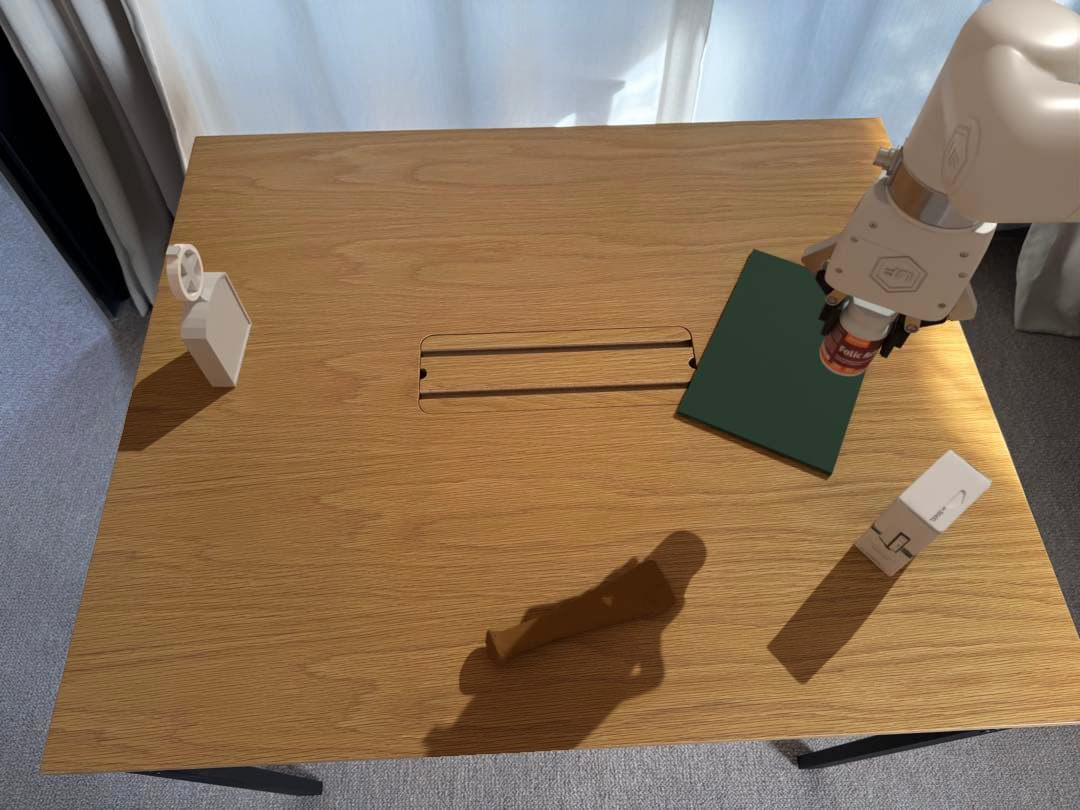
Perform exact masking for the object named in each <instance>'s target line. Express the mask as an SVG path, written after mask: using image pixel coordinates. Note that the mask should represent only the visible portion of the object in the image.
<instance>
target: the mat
mask: <svg viewBox="0 0 1080 810" xmlns="http://www.w3.org/2000/svg"><path fill="white" fill-rule="evenodd" d="M815 277H816V276H815V275H814V274H812V273H811V272H810V271H809V270H808V269H807V267H806V266H805V265H804V264H799V263H796V262H793V261H791V260H788V259H786V258H782V257H780V256H776V255H773V254H770V253H768V252H764V251H762V250H759V249H756V248H753V249H752V251H751V254H750V255H749V257H748V260H747V262H746V264H745V266H744V268H743V271H742V273H741V274H740V277H739V279H738V281H737V283H736V285H735V288H734V289H733V292H732V293H731V296H730V298H729V301H728V302H727V304H726V306H725V308H724V311H723V312H722V315H721V317H720V319H719V322H718V323H717V326H716V328H715V330H714V332H713V334H712V336H711V338H710V341H709V343H708V345H707V347H706V349H705V351H704V354H703V355H702V358H701V360H700V361H699V364H698V366H697V369H696V370H695V372H694V375H693V377H692V379H691V381H690V383H689V385H688V387H687V390H686V392H685V394H684V396H683V398H682V401H681V402H680V405H679V406H678V409H677V411H676V414H678V415H679V416H682V417H684V418H687V419H690V420H691V421H694V422H698V423H699V424H702V425H705V426H707V427H709V428H712V429H714V430H716V431H719V432H722V433H724V434H726V435H730V436H732V437H734V438H737V439H739V440H742V441H744V442H746V443H749V444H752V445H754V446H756V447H759V448H761V449H764V450H767V451H768V452H771V453H773V454H776V455H779V456H780V457H783V458H786V459H788V460H791V461H793V462H795V463H798V464H800V465H804V466H806V467H808V468H810V469H813V470H815V471H818V472H821V473H823V474H825V475H827V476H832V474H833V473H834V470H835V467H836V464H837V461H838V458H839V455H840V451H841V448H842V446H843V442H844V439H845V436H846V433H847V429H848V427H849V424H850V421H851V417H852V414H853V412H854V409H855V406H856V402H857V399H858V396H859V394H860V390H861V388H862V385H863V381H864V379H865V375H866V373H867V369H866V370H865V371H864V372H863V373H861V374H859V375H856V376H842V375H838V374H836V373H834V372H832V371H830V370H829V369H828V368H827V367H826V366H825V365H824V364H823V362H822V361H821V358H820V347H821V344H822V343H823V340H824V339H825V337H826V336H823V335H820V333H821V330H822V328H823V325H824V321H821V320H819V319H818V318H819V315H820V313H821V310H822V308H823V306H824V304H825V298H826V295H825V293H824V292H823V290H822V289H821V287H820V286H819V284H818V283H817V281H816V280H815ZM851 297H852V296H850V295H847V297H846V300H845V302H844V304H845V303H846V302H847V301H849V300H850V298H851Z"/></svg>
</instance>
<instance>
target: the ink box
mask: <svg viewBox="0 0 1080 810" xmlns="http://www.w3.org/2000/svg"><path fill="white" fill-rule="evenodd" d="M992 484H993V480H992V479H991V478H990V477H989V476H987V475H986V474H984V472H982V471H981V470H979V469H978V468H977V467H976V466H974V464H972V463H971V462H969V460H967V459H965V458H964V457H962V456H961V455H960V454H959V453H957V452H956V451H954V450H953V449H948V450H947V451H946V452H945V453H944V454H942V455H941V456H940V457H939V458H938V459H937V460H935V462H933V463H932V464H931V465H929V467H927V469H926V470H925V471H923V473H921V474H920V475H919V476H918V477H917V478H916V479H915V480H914V481H913V482H912V483H910V485H909V486H907V488H906V489H904V491H903V492H901V493H900V494H899V495H898V496H897V497H896V498H895V499H894V500H893V501H892V503H891V504H890V505H889V506H888V507H887V508H886V509H884V511H883V512H882V513H881V514H880V515H879V516H878V517H877V518H876V519H875V521H874V522H872V523H871V524H870V525H869V527H868V528H867V529H866V530H865V531H864V532H863V533H862V534H861V535H860V536H859V538H857V539H856V541H854V544H853V545H854V546H855V547H856V548H857V549H858V550H859V551H860V552H861V553H862V554H863V555H865V556H866V557H867V558H868V559H869V560H870V561H871V562H872V563H873V564H874V565H875V566H877V568H879V569H880V570H881V571H882V572H883V573H884V574H885V575H886V576H887V577H892V576H894V575H895V574H897V572H898V571H899V570H901V569H902V568H903V567H904V566H905V565H907V564H908V563H909V562H910V561H912V560H913V559H914V558H915V557H916V556H917V555H919V554H920V553H921V552H922V551H923V550H925V549H926V548H928V546H930V545H931V544H932V543H933V542H935V540H937V539H938V538H939V537H940V536H941V535H943V533H945V532H946V531H947V530H948V529H949V528H950V527H951V526H952V525H953V523H955V522H956V521H957V519H958V518H959V517H961V516H962V515H963V514H964V513H965V511H967V510H968V509H969V508H970V507H971V506H972V505H973V504H974V503H975V502H976V501H977V500H978V499H979V498H980V497H982V495H983V494H984V493H985V492H987V490H989V489H990V488H991V485H992Z"/></svg>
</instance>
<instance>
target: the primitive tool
mask: <svg viewBox="0 0 1080 810" xmlns="http://www.w3.org/2000/svg"><path fill="white" fill-rule="evenodd" d="M676 604H677V597H676V595H675V594H674V591H673V589H672V587H671V584H670V583H669V581H668V580H667V578H666V576H665V574H664V573H663V571H662V569H661V567H660V566H659V563H657V562H656V560H655V559H653V558H651V559H650V558H648V559H646V560H644V561H642V562H639V563H637V565H635V566H633V567H631V568H630V569H628V570H627V571H624V572H623V573H622V574H620V575H619V576H617V577H615V578H614V579H611V580H609V581H608V582H607V583H604V584H602V585H600V586H598V587H595V588H593V589H591V590H588V591H587V592H586V593H583V594H581V595H580V596H578V597H576V598H572V599H571V600H564V601H563V602H561V603H560V604H559V605H558V606H557V607H555V608H554V609H553V608H552V609H551V610H548V611H545V612H544V613H542V614H540V615H539V616H538V617H535V618H532V619H529V620H527V621H525V622H522V623H520V624H517V625H515V626H512V627H510V628H509V627H508V628H505V629H503V630H491V629H488V630H487V631H486V633H485V639H484V643H485V648H484V649H485V652H486V653H487V655H488V657H489V659H490V662H491V663H492V664H493V665H495V666H497V667H499V668H503V666H504V665H505V663H506V662H507V661H508V659H509V658H510V657H511V656H514V655H517V654H519V653H521V652H523V651H527V650H530V649H534V647H537V646H540V645H543V644H546V643H549V642H551V641H555V640H558V639H561V638H565V637H569V636H571V635H574V634H578V633H580V632H584V631H588V630H591V629H596V628H599V627H607V626H609V625H616V624H617V623H618V622H623V621H626V620H629V619H634V618H639V617H642V616H644V617H645V616H648V615H650V616H651V617H656V616H657V615H658V614H661V613H667V612H669V611H670V609H672V608H674V607H675V606H676Z"/></svg>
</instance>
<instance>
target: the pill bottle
mask: <svg viewBox="0 0 1080 810" xmlns="http://www.w3.org/2000/svg"><path fill="white" fill-rule="evenodd" d="M897 314H898V312H896V311H893V310H890V309H887V308H884V307H881V306H878V305H875V304H872V303H870V302H867V301H864V300H861V299H858V298H856V297H853V296H852V297H851V298H850V300H849V301H847V302H846V303H845V304H844V305H843V308H842V310H841V313H840V315H839V316H838V318H837V320H836V322H835V324H834V326H833V328H832V330H831V332H830V333H829V335H826V337H825V339H824V340H823V343H822V344H821V347H820V358H821V361H822V362H823V364H824V365H825V366H826V367H827V368H828V369H829V370H830V371H832V372H834V373H836V374H838V375H842V376H856V375H859V374H861V373H863V372H864V371H865V370H866V371H867V369H868V367H869V366H870V364H871V363H872V361H873V360H874V358H875V357H876V355H877V354H878V352H880V350H881V347H882V345H883V343H884V341H885V340H886V338H887V337H888V336H889V334H890V332H891V330H892V327H893V320H894V319H895V317H896V316H897Z"/></svg>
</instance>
